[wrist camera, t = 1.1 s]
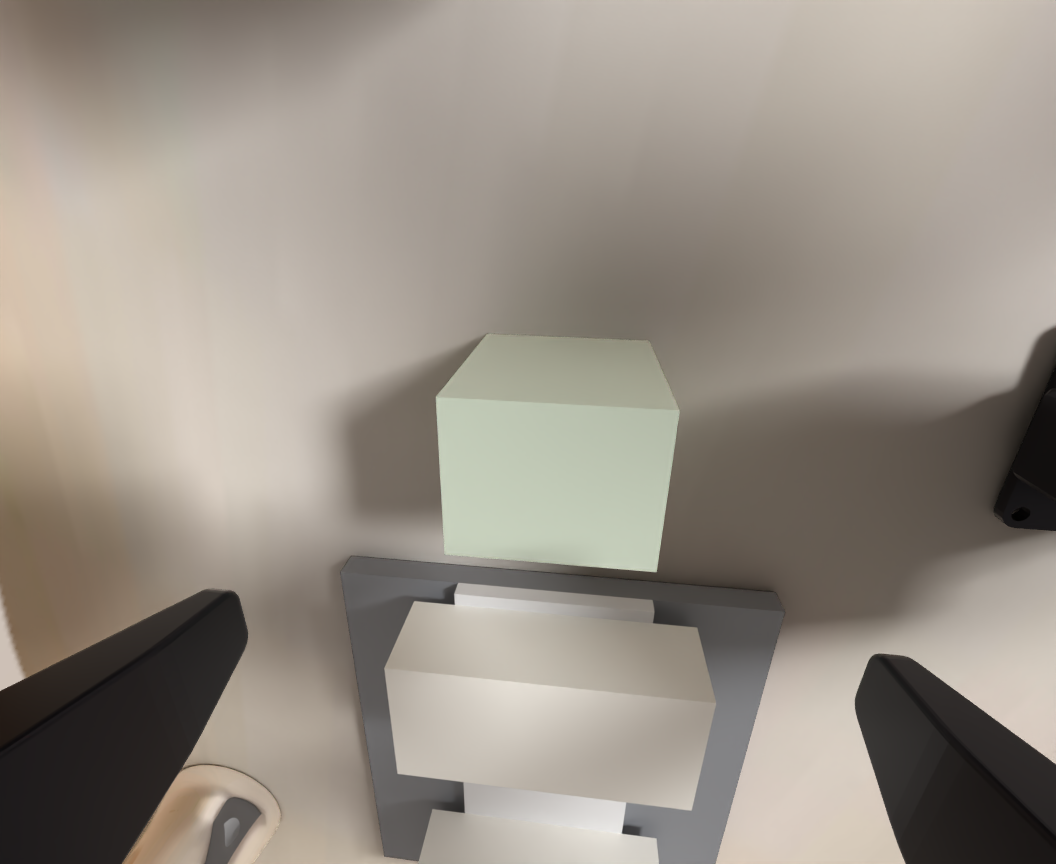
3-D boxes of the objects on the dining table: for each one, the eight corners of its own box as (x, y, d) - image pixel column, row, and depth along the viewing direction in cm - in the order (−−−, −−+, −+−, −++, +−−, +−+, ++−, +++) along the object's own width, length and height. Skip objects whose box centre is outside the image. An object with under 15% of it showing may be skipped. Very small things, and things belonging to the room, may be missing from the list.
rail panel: (775, 592, 19) (828, 702, 15) (700, 877, 26) (722, 1005, 22) (351, 555, 20) (289, 646, 16) (391, 834, 28) (355, 947, 23)
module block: (648, 340, 16) (679, 410, 10) (635, 457, 18) (656, 572, 12) (487, 333, 16) (435, 397, 11) (488, 448, 18) (444, 554, 12)
